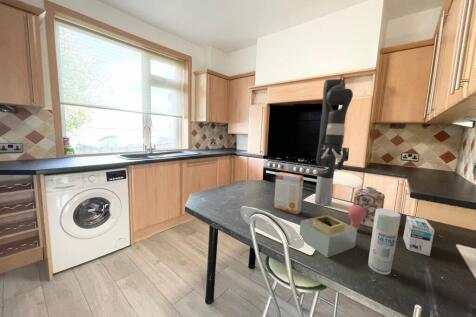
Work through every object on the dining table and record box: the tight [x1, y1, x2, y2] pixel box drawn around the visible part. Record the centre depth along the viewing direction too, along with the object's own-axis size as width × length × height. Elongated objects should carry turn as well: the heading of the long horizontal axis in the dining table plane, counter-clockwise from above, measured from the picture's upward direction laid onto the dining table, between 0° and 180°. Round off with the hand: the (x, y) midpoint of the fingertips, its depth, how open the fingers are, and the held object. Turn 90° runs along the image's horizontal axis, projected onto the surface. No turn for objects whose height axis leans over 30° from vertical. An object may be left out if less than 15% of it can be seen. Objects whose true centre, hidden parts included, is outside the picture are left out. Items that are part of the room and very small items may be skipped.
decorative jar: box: [352, 186, 386, 229], centre depth 99 cm, size 12×12×18 cm
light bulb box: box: [402, 215, 435, 257], centre depth 79 cm, size 11×7×11 cm, turn 148°
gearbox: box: [299, 214, 358, 258], centre depth 80 cm, size 16×14×9 cm
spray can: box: [367, 208, 402, 276], centre depth 65 cm, size 6×6×20 cm
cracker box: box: [273, 171, 304, 216], centre depth 110 cm, size 14×6×21 cm, turn 50°
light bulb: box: [347, 204, 366, 231], centre depth 91 cm, size 7×7×12 cm
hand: (331, 168), depth 93 cm, fingers open, 8 cm apart
